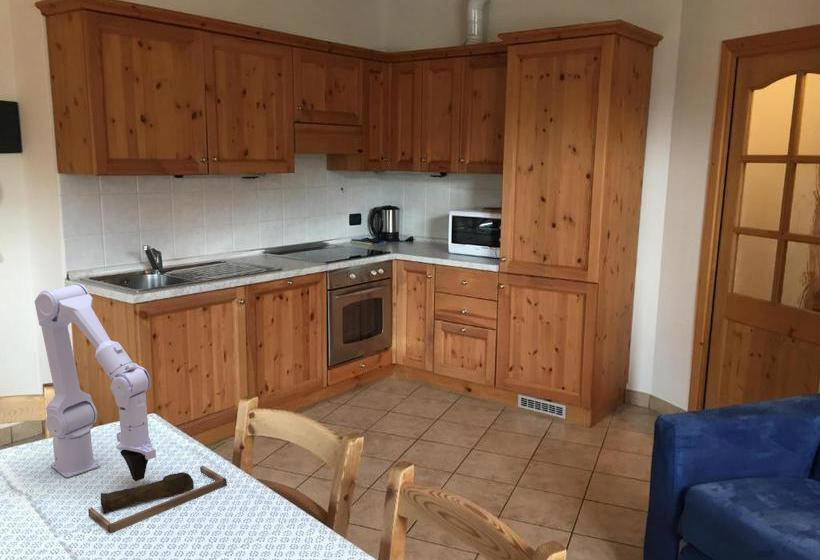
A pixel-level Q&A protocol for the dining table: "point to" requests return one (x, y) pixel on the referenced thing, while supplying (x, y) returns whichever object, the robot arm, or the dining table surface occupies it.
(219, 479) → the tool bay
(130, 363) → the robot arm
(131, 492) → the hand tool
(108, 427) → the dining table surface
